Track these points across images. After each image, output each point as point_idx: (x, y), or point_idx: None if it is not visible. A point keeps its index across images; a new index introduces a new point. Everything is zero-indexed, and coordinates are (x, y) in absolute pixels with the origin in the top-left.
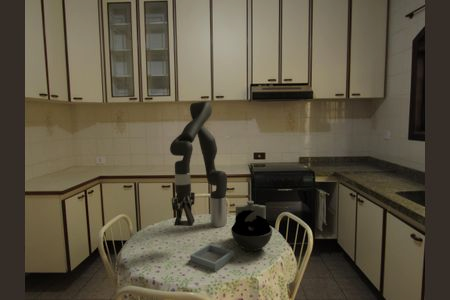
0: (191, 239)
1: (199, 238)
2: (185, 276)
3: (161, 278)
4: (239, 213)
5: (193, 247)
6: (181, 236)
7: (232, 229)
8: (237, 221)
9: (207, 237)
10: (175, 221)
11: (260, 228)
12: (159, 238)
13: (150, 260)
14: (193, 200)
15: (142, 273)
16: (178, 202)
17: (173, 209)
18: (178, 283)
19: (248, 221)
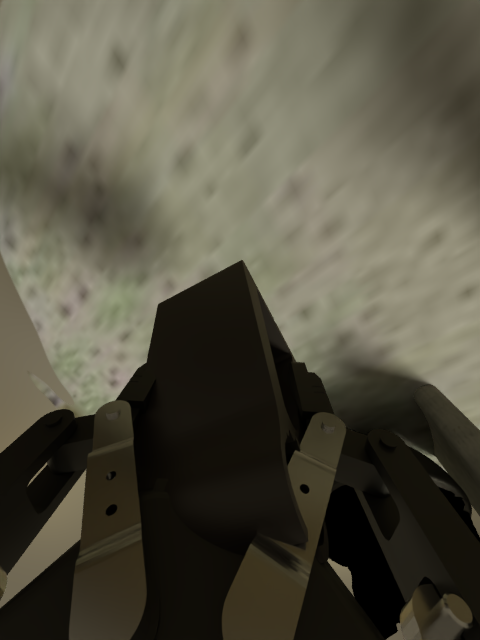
0: (341, 237)
1: (366, 265)
2: (111, 391)
3: (53, 347)
4: (396, 599)
5: (271, 300)
6: (356, 155)
7: (337, 494)
8: (349, 557)
9: (390, 290)
10: (156, 326)
11: (352, 577)
12: (272, 31)
13: (81, 226)
14: (389, 534)
15: (15, 277)
16: (118, 495)
17: (44, 429)
18: (77, 396)
19: (457, 507)
